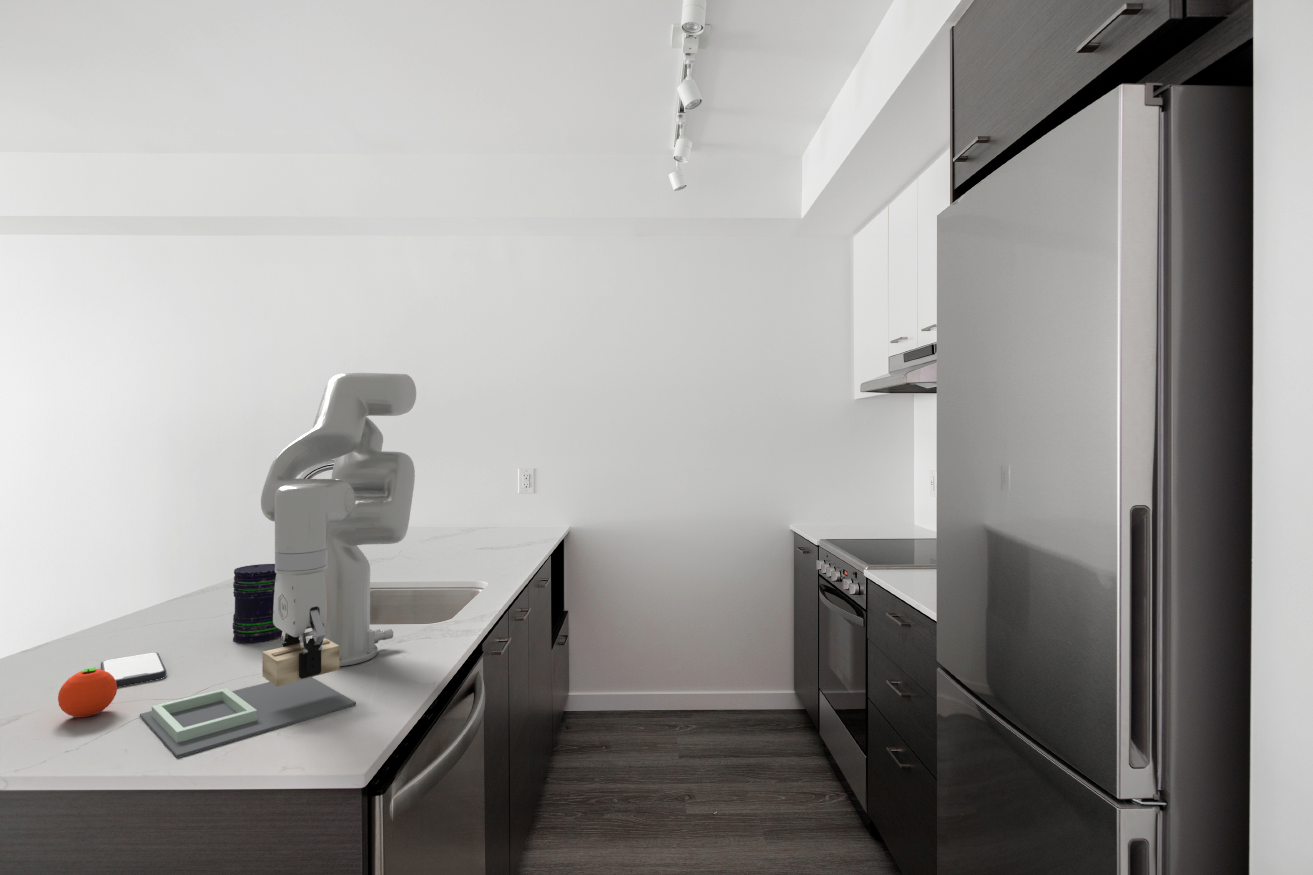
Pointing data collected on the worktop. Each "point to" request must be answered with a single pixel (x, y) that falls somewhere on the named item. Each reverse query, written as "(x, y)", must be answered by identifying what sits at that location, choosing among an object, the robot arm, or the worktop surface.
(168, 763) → the worktop surface
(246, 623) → the storage jar
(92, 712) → the clementine
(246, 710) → the tray frame
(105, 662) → the smartphone
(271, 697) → the rubber mat
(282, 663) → the wooden block
